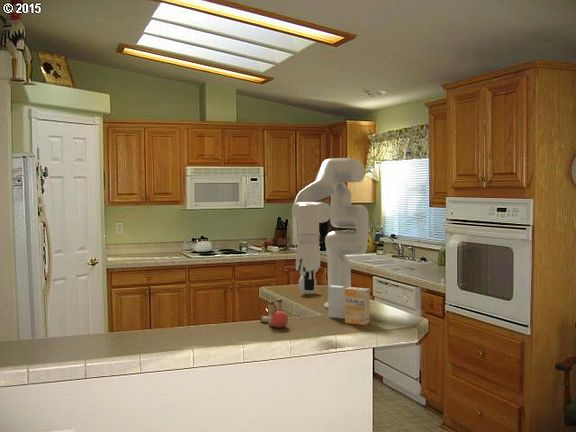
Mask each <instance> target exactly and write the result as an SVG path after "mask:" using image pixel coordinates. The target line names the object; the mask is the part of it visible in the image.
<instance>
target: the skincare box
mask: <svg viewBox="0 0 576 432" xmlns="http://www.w3.org/2000/svg"><path fill="white" fill-rule="evenodd" d="M345 289H346V286H337V285H331V286H329V287H328V286H327V302H328V308H327V309H328V317H329V318H333V319H342V320H343V319H345Z"/></svg>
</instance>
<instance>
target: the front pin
mask: <svg viewBox="0 0 576 432" xmlns="http://www.w3.org/2000/svg"><path fill="white" fill-rule="evenodd" d="M259 321H260V322H261V323H268V324H269V316H267V315H266V316H265V315H260V318H259Z"/></svg>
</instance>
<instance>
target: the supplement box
mask: <svg viewBox="0 0 576 432" xmlns="http://www.w3.org/2000/svg"><path fill="white" fill-rule="evenodd" d="M370 290H371V289H370V288H364V287H354V286H353V287H352V286H351V287H348V288H346V289H345V318H344V324H350V325H359V326H367V325H369V324H370V313H371V311H370V304H371V303H370V302H371V301H370V300H371V297H370V296H371V295H370V293H371V292H370Z"/></svg>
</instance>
